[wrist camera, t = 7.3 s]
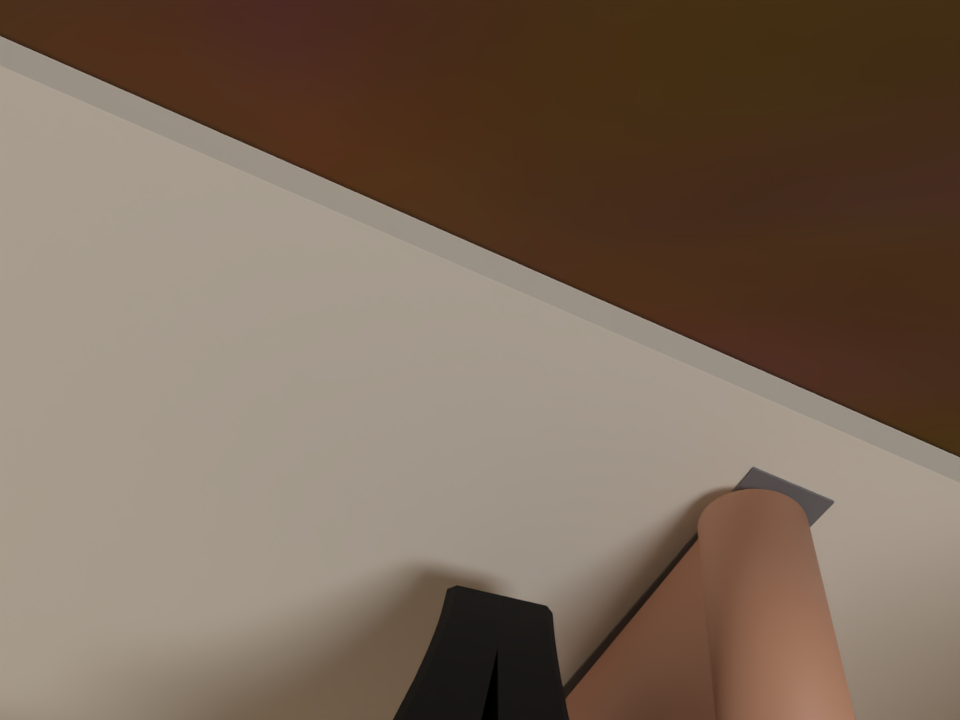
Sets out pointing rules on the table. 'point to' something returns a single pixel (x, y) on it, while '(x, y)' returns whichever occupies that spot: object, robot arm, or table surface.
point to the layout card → (370, 441)
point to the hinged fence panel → (728, 629)
